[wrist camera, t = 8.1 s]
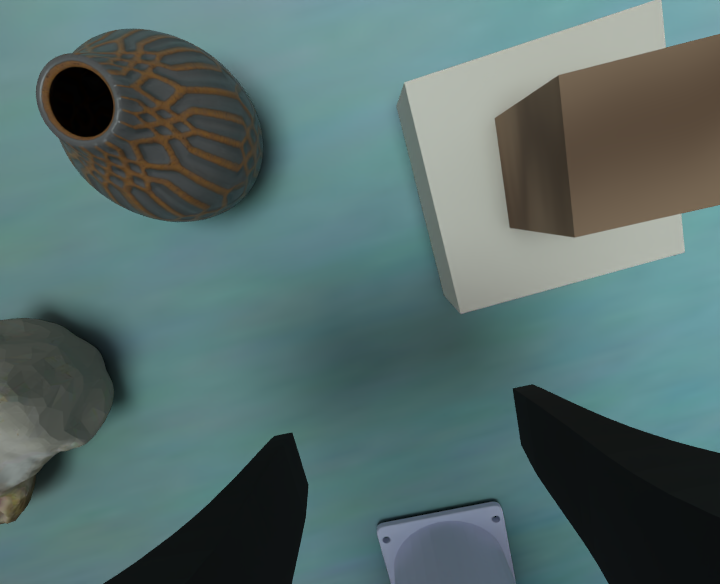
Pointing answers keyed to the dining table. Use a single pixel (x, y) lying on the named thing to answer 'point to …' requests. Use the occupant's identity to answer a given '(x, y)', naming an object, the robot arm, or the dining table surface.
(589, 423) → the robot arm
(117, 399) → the dining table surface
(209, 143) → the vase
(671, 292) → the dining table surface
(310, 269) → the dining table surface
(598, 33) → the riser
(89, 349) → the ceramic sculpture
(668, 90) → the walnut block
